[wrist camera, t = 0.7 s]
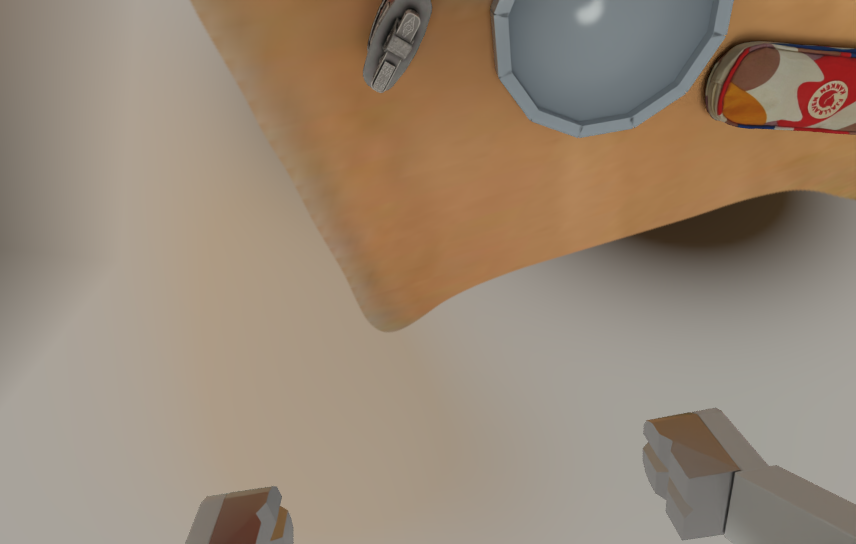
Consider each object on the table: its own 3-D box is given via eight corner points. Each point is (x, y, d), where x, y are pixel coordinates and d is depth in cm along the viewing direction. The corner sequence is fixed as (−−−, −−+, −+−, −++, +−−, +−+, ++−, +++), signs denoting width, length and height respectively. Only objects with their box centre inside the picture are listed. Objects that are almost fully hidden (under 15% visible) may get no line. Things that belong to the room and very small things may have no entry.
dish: (667, -199, 36) (680, -201, 34) (753, 32, 46) (766, 39, 44) (446, 4, 43) (448, 10, 42) (562, 162, 54) (568, 172, 52)
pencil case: (761, -16, 44) (795, -3, 40) (920, 58, 48) (965, 76, 45) (681, 102, 50) (704, 123, 46) (828, 157, 55) (860, 180, 51)
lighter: (401, -41, 41) (401, -15, 34) (437, -18, 42) (444, 12, 35) (359, 49, 46) (351, 90, 38) (392, 68, 47) (391, 111, 39)
